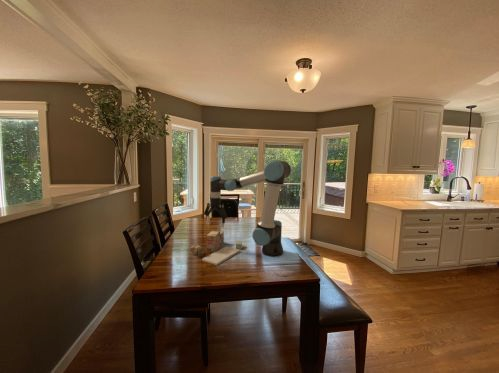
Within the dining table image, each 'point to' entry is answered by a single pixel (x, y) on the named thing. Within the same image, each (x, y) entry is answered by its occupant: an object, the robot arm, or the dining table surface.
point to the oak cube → (194, 250)
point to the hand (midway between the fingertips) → (215, 225)
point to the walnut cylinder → (201, 251)
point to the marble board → (221, 255)
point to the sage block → (239, 245)
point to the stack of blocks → (214, 240)
